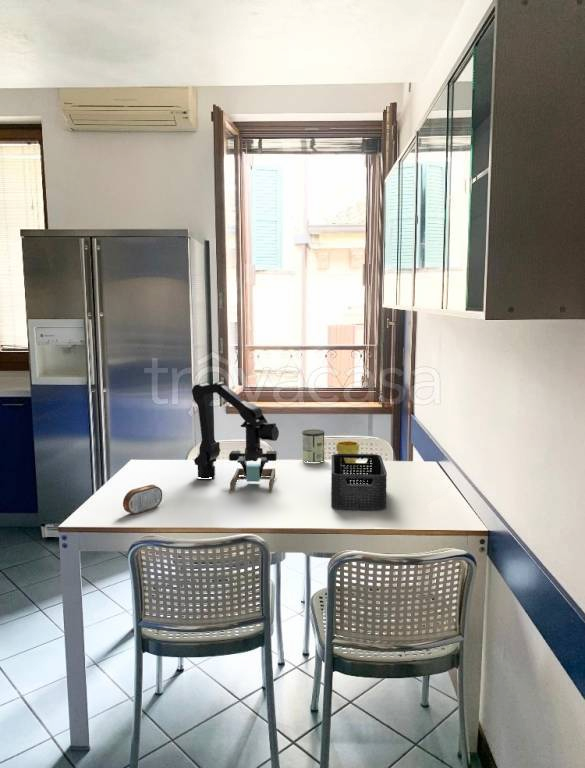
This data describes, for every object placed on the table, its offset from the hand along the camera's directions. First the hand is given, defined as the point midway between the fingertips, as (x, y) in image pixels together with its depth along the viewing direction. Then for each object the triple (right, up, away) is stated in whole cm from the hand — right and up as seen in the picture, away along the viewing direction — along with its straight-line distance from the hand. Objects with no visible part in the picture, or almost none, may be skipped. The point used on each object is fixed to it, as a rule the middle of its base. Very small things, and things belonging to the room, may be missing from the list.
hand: (253, 476), depth 228 cm
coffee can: (+25, +1, +36) cm, 44 cm away
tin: (-36, -7, -30) cm, 47 cm away
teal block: (0, -1, 0) cm, 1 cm away
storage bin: (+40, -5, -17) cm, 43 cm away
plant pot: (+41, 0, +31) cm, 51 cm away
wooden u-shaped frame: (0, -3, +1) cm, 3 cm away
